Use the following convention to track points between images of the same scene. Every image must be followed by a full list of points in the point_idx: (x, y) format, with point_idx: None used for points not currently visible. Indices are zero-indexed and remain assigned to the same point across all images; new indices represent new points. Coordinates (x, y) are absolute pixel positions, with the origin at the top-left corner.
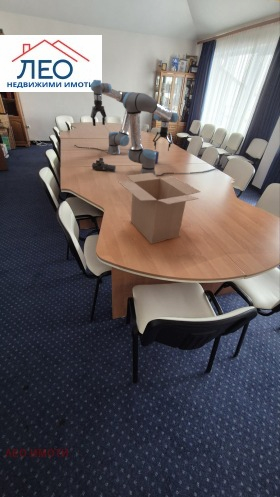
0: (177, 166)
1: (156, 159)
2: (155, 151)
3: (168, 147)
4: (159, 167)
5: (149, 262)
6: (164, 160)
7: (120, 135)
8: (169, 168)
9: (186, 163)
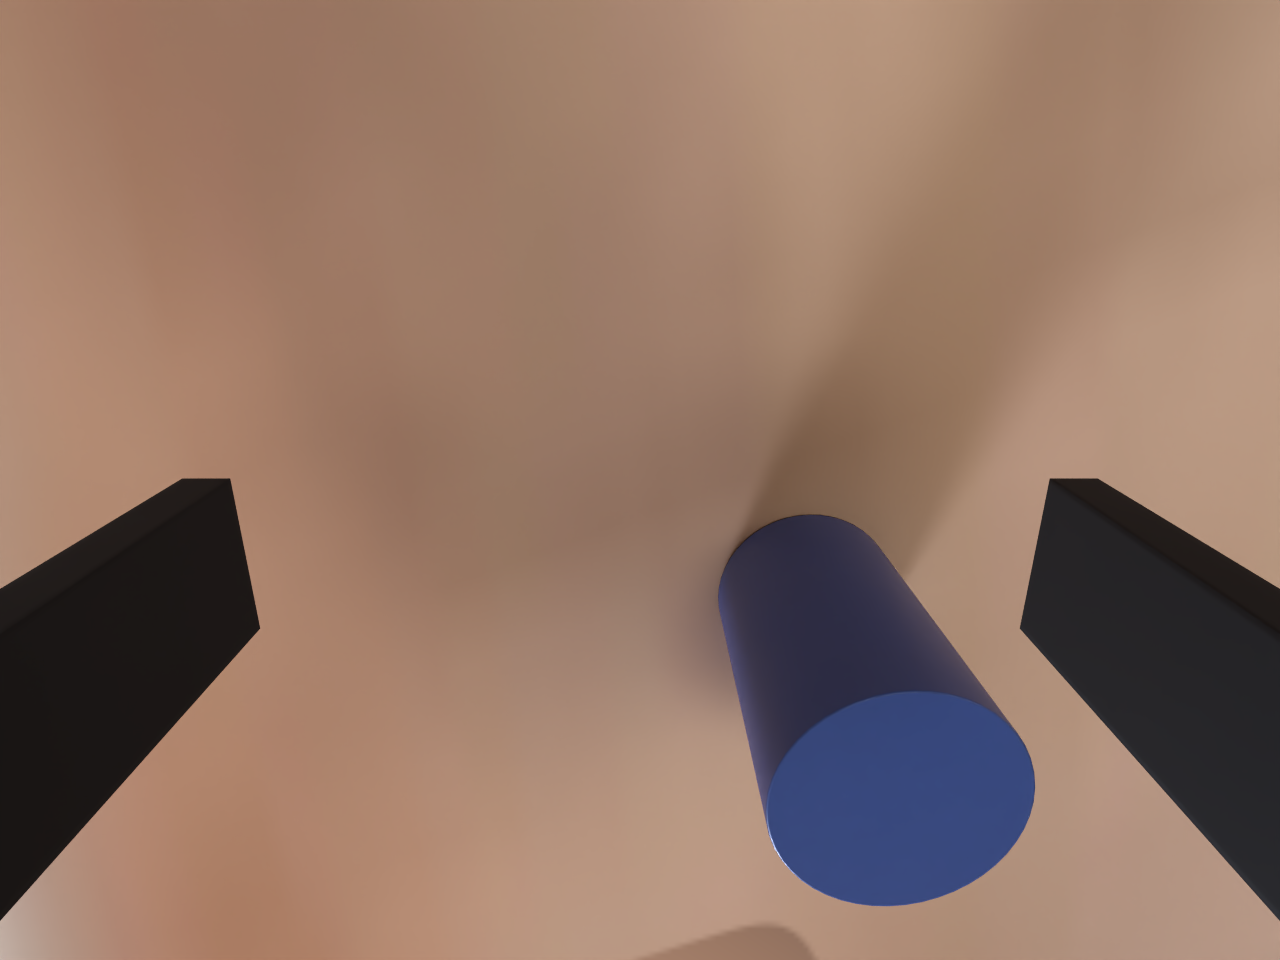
0: None
1: (782, 585)
2: (904, 873)
3: (66, 583)
4: (636, 222)
5: None
6: (569, 886)
7: None
8: (328, 233)
9: None
